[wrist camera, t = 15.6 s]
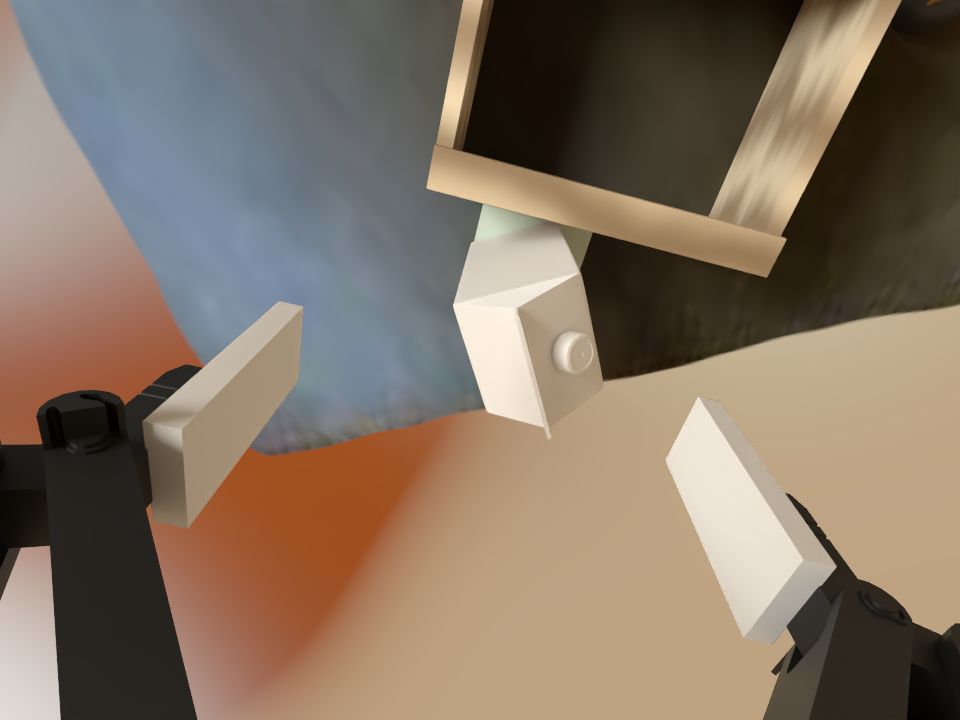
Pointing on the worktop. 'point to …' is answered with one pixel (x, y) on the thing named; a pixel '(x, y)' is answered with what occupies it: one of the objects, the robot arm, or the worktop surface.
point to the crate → (754, 171)
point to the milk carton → (528, 325)
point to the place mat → (507, 221)
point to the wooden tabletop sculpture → (924, 14)
